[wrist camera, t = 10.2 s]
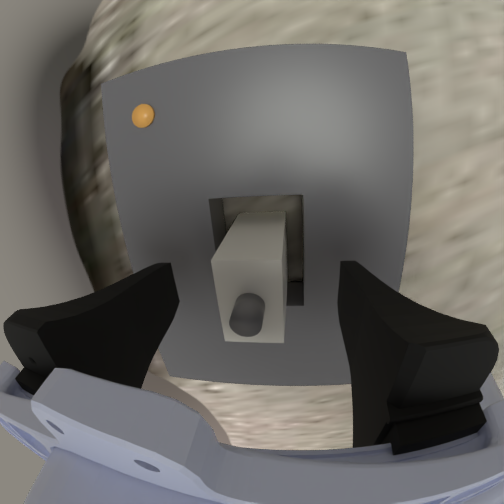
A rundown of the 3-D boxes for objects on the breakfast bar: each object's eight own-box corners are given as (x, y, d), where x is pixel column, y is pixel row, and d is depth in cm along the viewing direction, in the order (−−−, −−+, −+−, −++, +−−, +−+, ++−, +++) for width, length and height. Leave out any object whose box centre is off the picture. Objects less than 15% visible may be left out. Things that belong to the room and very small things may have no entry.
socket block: (368, 357, 19) (374, 384, 17) (179, 354, 21) (168, 377, 19) (389, 62, 11) (407, 51, 8) (125, 86, 13) (99, 83, 11)
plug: (287, 275, 17) (282, 362, 11) (245, 275, 17) (218, 360, 11) (285, 211, 15) (279, 276, 9) (239, 213, 16) (201, 276, 9)
